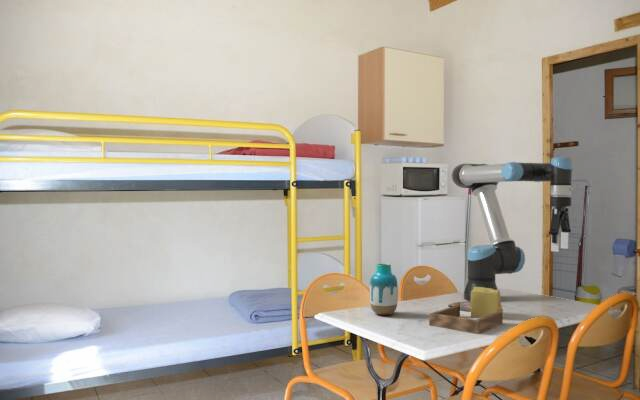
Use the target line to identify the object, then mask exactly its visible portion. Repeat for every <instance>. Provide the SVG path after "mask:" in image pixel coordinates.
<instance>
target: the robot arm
mask: <svg viewBox="0 0 640 400" xmlns="http://www.w3.org/2000/svg"><path fill="white" fill-rule="evenodd" d="M572 164H573V162H572V158H571V157H569V156H568V157H567V156H560V157H559V156H558V157H557V156H555V157H552V158H551V159H550V162H545V163H544V162H541V163H540V162H516V161H512V162H510V161H509V162H506V163H497V164H496V163H495V164H487V163H461V164H458V165H457V166H455V167H454V168H453V170H452V172H451V179H452V182H453V183H454V184H455V185H456V186H457V187H459V188H463V189H470V190H471V193H472V195H473V196H474V197H476V199H477V201H478V205H479V209H480V212H481V215H482V218H483V222H484V225H485V228H486V232H487V236H488V239H489V242H490V244H481V245H479V244H478V245H474V246H471V247H470V248H468V250H467V258H466V259H467V283H466V284H465V288H464V291H463V299H464V300H465V301H466V300H467V301H470V302H471V291H472V290H473V289H474V287H484V288H491V289H494V290H499V289H498V287H497V283H496V275H502V274H509V275H510V274H511V275H512V274H516V273H518V272H520V271H521V270H522V269H523V268H524V265H525V264H526V257H525V252H524V250H523V249H522V248H521V247H519V246H517V245H516V242H515V240H514V239H512V238H510V236H509V235H510V234H509V232H508V227H507V225H506V221H505V218H504V216H503V213H502V209H501V207H500V204H499V200H498V197H497V193H496V190H497V188H498V187H497V186H498V185H499V183H502V182H534V183H535V182H536V183H539V182H540V183H541V182H550V196H551V197H550V198H549V200H550V201H549V202H550V203H549V204H550V207H555V208H552V209H551V220H550V227H549V231H548V235H550V252H556V253H558V252H560V249H564V250H565V249H567V250H568V249H569V234H570V233H571V232H572V230H571V224H570V218H569V217H570V216H569V208H567V207H571V206H572V198H571V196H572V191H573V190H574V189H573V187H572V175H573V174H572V173H573V165H572ZM560 229H561V232H560V235H559V231H560Z"/></svg>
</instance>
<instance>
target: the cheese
mask: <svg viewBox="0 0 640 400" xmlns="http://www.w3.org/2000/svg"><path fill="white" fill-rule="evenodd" d="M497 308H501V309H503V307H502V295H501V293H500V290H499V289H498V290H494V289H491V288H484V287H474V289H473V290H472V291H471V301H470V317H471V318H478V319H480V318H482V317H485V316H488V315H490V314H493V313H496V312H497Z"/></svg>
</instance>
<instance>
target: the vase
mask: <svg viewBox="0 0 640 400" xmlns="http://www.w3.org/2000/svg"><path fill="white" fill-rule="evenodd" d="M398 289H399V287H398V280H397V277H396V275H395V274H393V273H392V267H391V263H390V264H389V263H377V264H376V269H375V273H374V274H372V275H371V277H370V282H369V301H370V304H369V305H370V308H371V310H372V312H374V313H375V314H377V315H382V316H387V315H392V314H393V313H394V312H396V310H397V307H398V300H399V299H398V296H399V293H398V292H399V291H398Z"/></svg>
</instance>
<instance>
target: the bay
mask: <svg viewBox="0 0 640 400" xmlns="http://www.w3.org/2000/svg"><path fill="white" fill-rule="evenodd" d="M453 304H454V306H449V307H446V308H443V309H440V310H436V311H433V312H431V313H428V314H429V316H428V317H429V318H428V320H429V322H428V323H429V326H433V327H439V328H445V329H449V330H454V331H460V332H465V333H470V334H471V333H472V334H476V335H477V334H480V333H483V332H485V331H488V330H490V329H493V328H495V327H497V326H500V325H502V324H503V322H504V321H503V308H502V309H501V308H497V312H496V313H493V314H490V315H488V316H485V317H482V318H477V319H471V318H464V317H461V302H457V301H456V302H454V303H453Z"/></svg>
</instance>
